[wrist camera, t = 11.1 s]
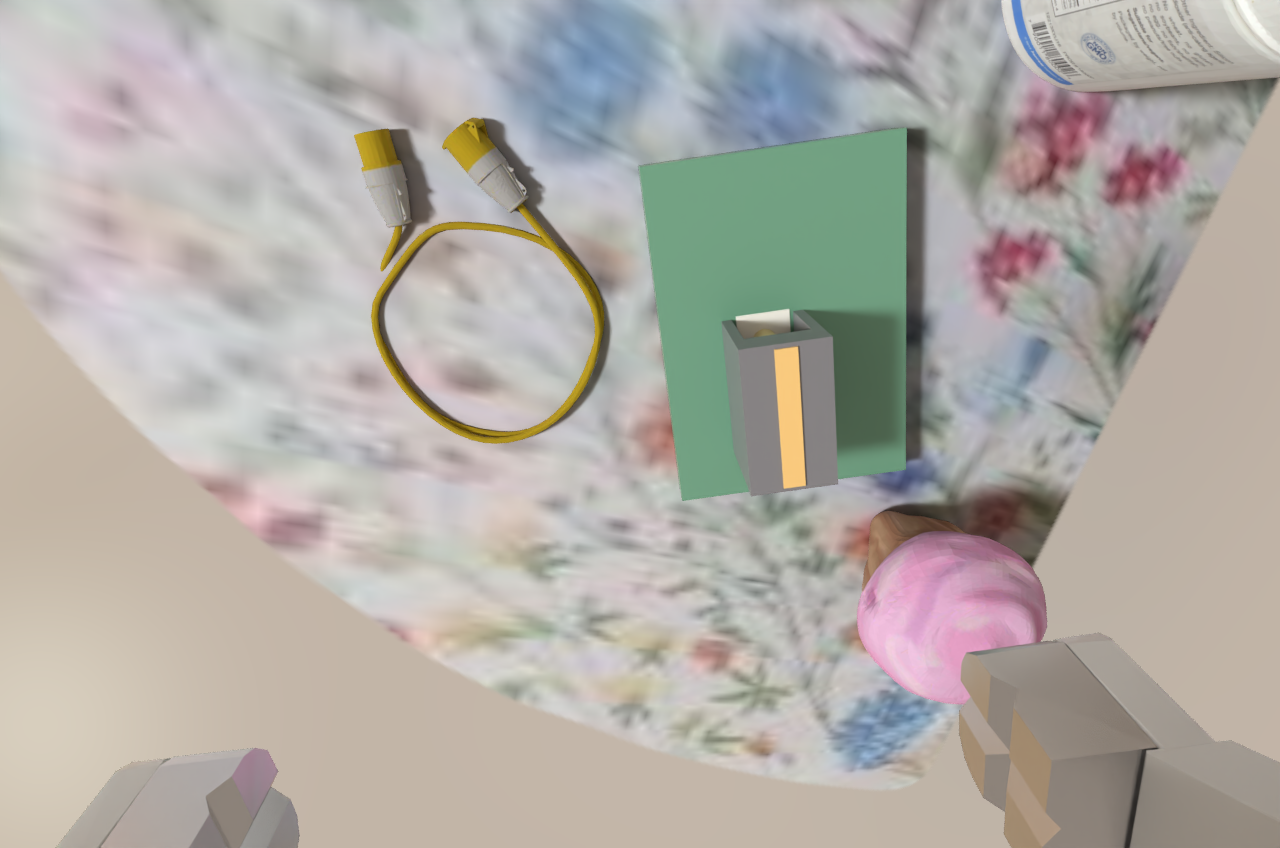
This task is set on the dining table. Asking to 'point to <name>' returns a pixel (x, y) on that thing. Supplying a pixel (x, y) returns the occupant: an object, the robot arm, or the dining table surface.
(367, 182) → the extension cord
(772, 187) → the header board
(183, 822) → the robot arm
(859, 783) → the dining table surface
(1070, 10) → the supplement tub
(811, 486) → the box
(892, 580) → the cupcake
